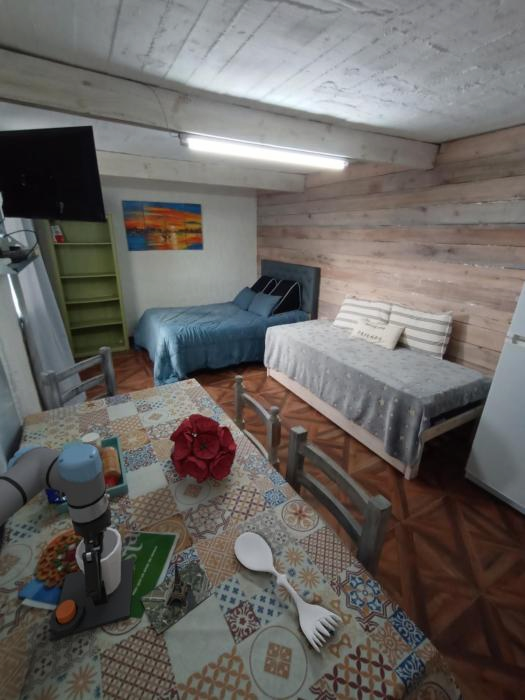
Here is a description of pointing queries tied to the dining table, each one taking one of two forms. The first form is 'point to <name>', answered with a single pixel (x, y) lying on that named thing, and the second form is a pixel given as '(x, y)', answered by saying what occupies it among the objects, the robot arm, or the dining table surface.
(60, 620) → the tare button
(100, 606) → the scale
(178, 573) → the eiffel tower figurine
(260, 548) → the spoon
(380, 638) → the dining table surface
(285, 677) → the dining table surface
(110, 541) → the foam cup
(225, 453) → the bouquet
